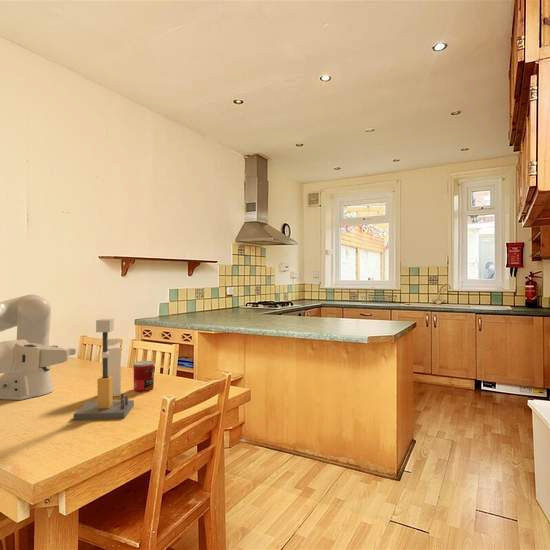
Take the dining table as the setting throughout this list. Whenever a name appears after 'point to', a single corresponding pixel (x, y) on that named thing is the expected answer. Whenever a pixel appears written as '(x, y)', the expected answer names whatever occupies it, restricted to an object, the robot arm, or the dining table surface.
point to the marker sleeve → (105, 392)
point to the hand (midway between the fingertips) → (65, 349)
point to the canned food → (143, 376)
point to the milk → (114, 364)
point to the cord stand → (118, 407)
